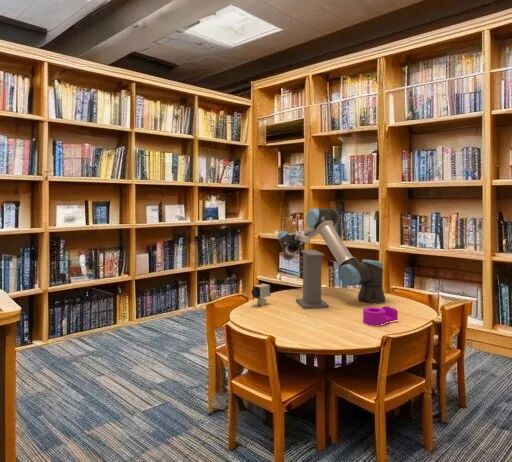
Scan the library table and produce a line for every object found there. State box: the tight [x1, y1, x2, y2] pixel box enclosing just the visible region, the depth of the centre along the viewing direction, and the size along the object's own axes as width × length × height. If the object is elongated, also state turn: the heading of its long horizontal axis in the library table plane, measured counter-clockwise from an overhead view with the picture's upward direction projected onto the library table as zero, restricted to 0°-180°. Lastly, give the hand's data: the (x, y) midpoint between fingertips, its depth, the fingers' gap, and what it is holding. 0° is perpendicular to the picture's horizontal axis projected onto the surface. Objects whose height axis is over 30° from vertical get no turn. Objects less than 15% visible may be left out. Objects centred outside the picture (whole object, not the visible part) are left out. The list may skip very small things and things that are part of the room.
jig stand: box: [295, 249, 330, 310], centre depth 227 cm, size 18×14×29 cm
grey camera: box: [251, 283, 273, 307], centre depth 228 cm, size 6×12×12 cm, turn 135°
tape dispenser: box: [362, 305, 399, 326], centre depth 197 cm, size 16×10×6 cm, turn 119°
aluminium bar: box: [296, 232, 310, 243], centre depth 247 cm, size 22×3×3 cm, turn 8°
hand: (300, 232), depth 250 cm, fingers closed on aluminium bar, 3 cm apart
